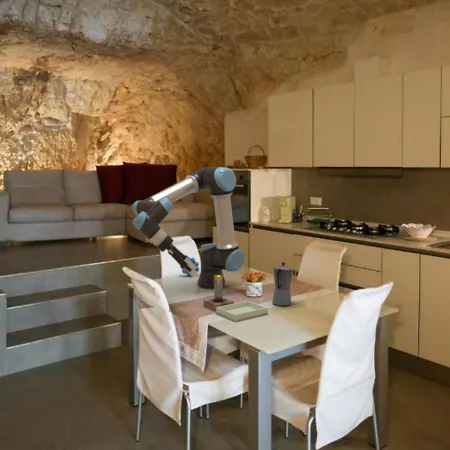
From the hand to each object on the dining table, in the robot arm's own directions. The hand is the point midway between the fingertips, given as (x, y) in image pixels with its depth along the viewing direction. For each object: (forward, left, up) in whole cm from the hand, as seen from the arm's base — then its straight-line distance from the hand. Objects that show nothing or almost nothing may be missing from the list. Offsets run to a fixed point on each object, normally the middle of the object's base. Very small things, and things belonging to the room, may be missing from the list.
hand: (195, 272), depth 227 cm
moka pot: (-36, +19, -17) cm, 44 cm away
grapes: (-32, -56, -17) cm, 67 cm away
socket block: (-9, +5, -17) cm, 20 cm away
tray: (-11, +20, -17) cm, 28 cm away
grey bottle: (-9, +5, -17) cm, 20 cm away
